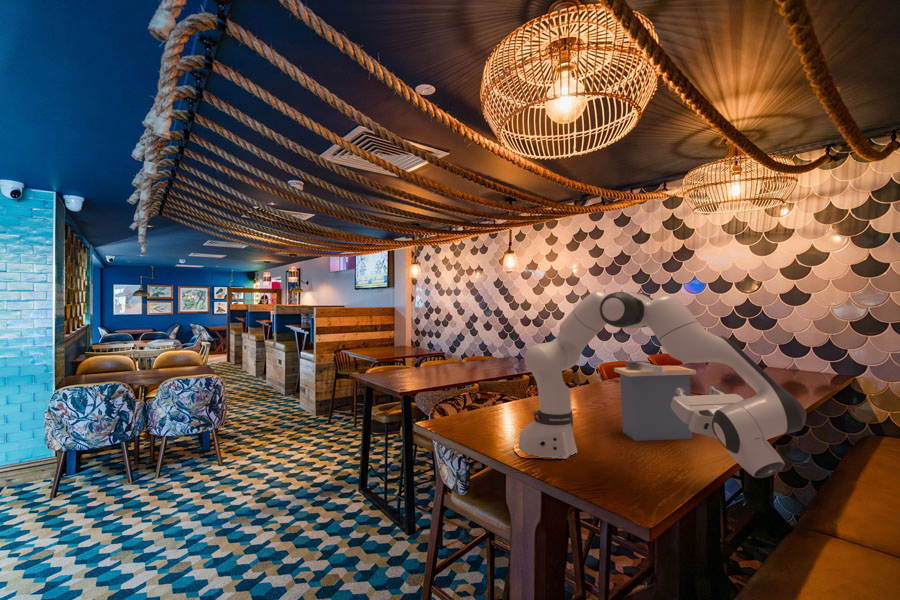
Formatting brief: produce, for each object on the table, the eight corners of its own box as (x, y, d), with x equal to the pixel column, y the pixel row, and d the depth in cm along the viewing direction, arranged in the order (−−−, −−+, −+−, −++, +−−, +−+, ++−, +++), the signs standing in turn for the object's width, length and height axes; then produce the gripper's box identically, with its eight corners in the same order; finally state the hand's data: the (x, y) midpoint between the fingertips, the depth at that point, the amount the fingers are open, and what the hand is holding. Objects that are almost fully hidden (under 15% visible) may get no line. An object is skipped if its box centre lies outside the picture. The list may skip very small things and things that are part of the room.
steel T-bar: (647, 375, 134) (646, 367, 134) (625, 369, 150) (625, 361, 150) (669, 375, 134) (668, 366, 134) (645, 368, 150) (645, 360, 150)
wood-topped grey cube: (631, 441, 141) (628, 372, 142) (616, 431, 153) (614, 367, 154) (699, 439, 141) (696, 369, 142) (680, 429, 153) (676, 365, 154)
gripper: (765, 411, 102) (730, 379, 114) (691, 415, 101) (663, 382, 114) (757, 428, 105) (723, 395, 117) (685, 432, 104) (659, 398, 117)
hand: (693, 388), depth 115 cm, fingers open, 8 cm apart
